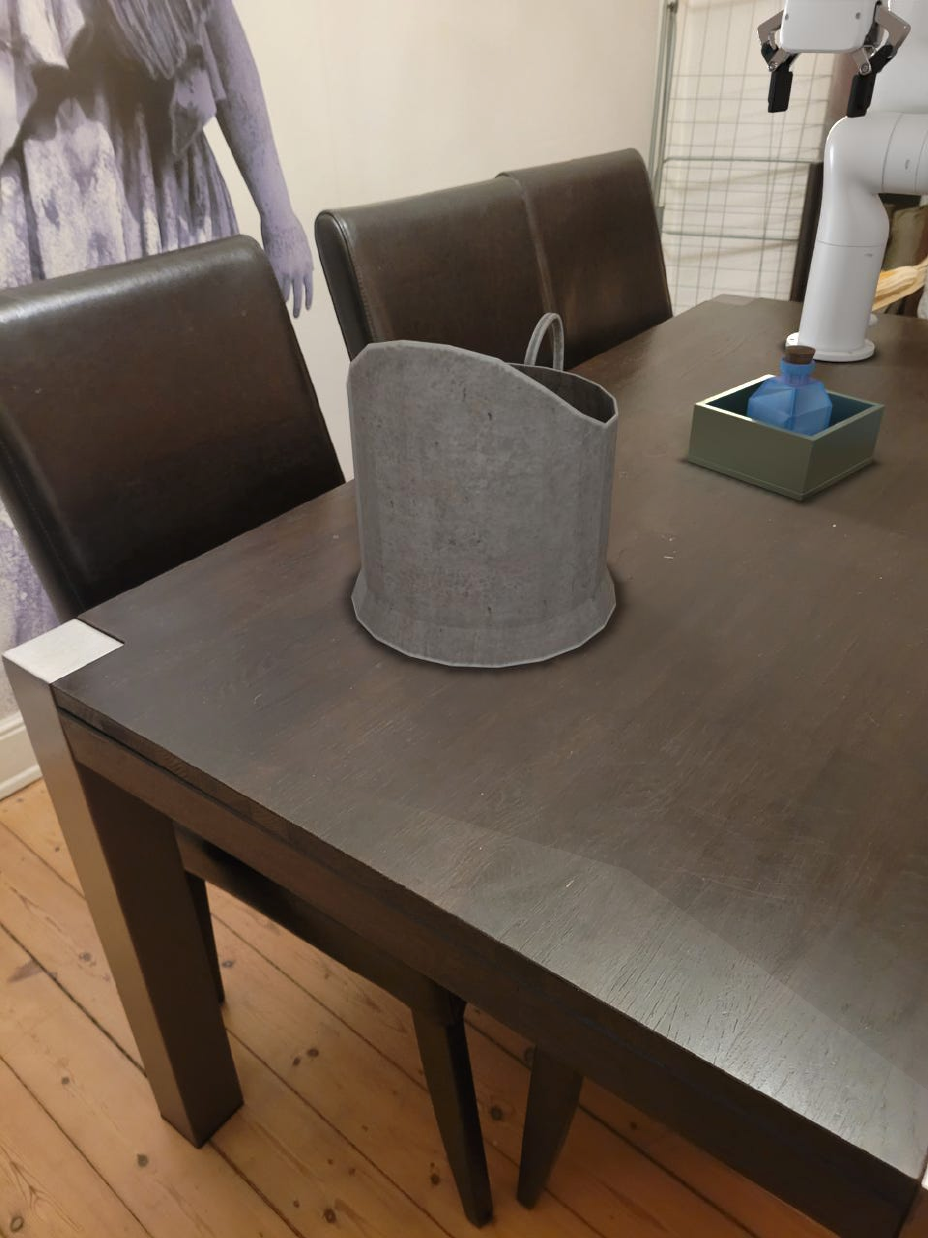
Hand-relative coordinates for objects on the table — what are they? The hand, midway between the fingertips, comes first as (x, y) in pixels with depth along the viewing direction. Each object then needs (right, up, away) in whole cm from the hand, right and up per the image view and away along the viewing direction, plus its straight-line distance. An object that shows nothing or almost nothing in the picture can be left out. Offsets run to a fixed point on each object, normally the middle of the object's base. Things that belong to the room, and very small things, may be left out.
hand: (815, 114), depth 103 cm
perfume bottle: (-3, -38, +2) cm, 38 cm away
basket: (-4, -39, +2) cm, 39 cm away
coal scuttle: (-36, -52, -18) cm, 66 cm away
